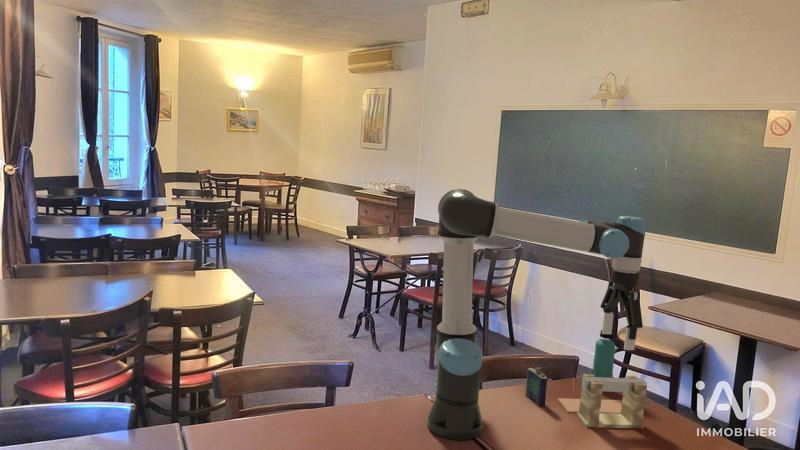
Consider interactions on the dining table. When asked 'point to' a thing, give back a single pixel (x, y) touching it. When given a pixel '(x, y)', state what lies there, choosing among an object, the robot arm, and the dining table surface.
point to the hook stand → (593, 417)
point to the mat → (606, 407)
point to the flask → (536, 386)
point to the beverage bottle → (604, 356)
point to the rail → (612, 383)
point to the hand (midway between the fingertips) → (617, 341)
